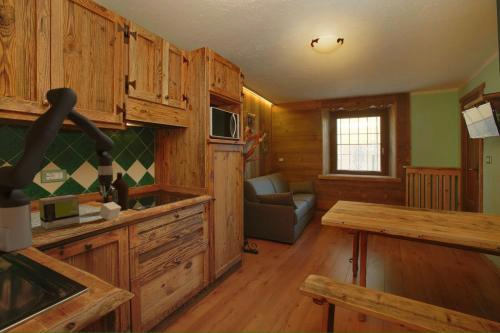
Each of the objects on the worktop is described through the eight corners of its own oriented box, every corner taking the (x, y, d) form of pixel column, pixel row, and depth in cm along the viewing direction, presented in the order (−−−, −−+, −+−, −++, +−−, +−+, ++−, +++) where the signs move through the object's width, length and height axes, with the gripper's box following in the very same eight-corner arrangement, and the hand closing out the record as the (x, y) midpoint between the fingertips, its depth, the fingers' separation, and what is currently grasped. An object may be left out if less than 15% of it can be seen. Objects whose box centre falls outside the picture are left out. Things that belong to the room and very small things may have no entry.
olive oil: (123, 207, 169) (122, 171, 168) (132, 209, 164) (131, 172, 162) (108, 210, 160) (107, 172, 159) (117, 212, 155) (116, 173, 153)
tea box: (74, 219, 138) (73, 194, 137) (80, 223, 132) (78, 196, 131) (40, 226, 127) (38, 198, 126) (44, 229, 120) (42, 200, 119)
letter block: (98, 214, 138) (107, 220, 136) (102, 204, 137) (110, 209, 135) (109, 211, 145) (117, 217, 143) (112, 201, 144) (121, 207, 142)
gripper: (91, 173, 139) (92, 203, 140) (107, 174, 134) (108, 205, 135) (103, 172, 145) (104, 201, 147) (119, 173, 141) (120, 202, 142)
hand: (106, 203), depth 141 cm, fingers closed
